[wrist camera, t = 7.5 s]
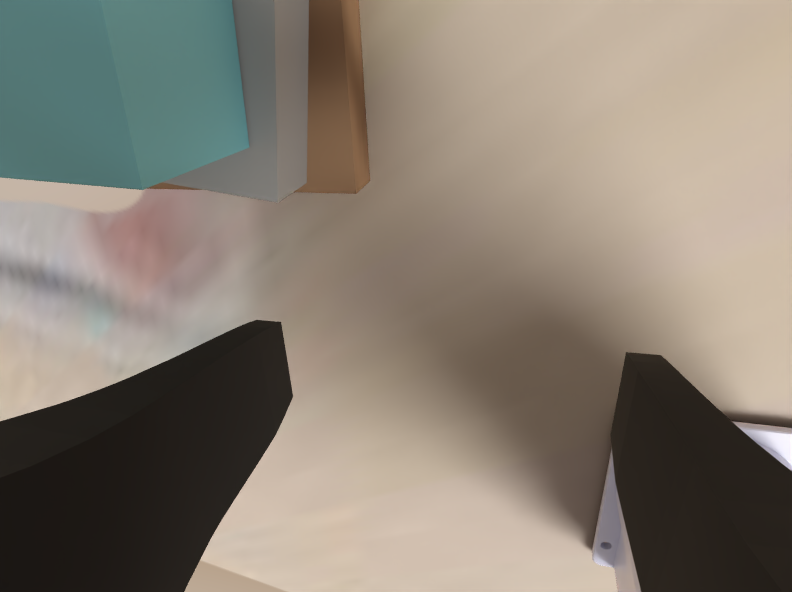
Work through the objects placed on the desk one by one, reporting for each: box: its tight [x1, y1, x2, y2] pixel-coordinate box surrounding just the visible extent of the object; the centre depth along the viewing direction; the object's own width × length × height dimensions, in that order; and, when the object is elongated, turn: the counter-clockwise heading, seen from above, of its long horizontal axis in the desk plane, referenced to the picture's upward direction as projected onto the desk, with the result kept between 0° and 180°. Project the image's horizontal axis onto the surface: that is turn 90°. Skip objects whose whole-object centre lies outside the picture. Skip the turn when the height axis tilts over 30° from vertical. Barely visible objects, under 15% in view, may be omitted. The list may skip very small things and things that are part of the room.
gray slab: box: [162, 0, 309, 203], centre depth 17 cm, size 7×7×2 cm
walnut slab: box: [148, 0, 370, 194], centre depth 19 cm, size 9×9×2 cm
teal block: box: [0, 0, 249, 190], centre depth 13 cm, size 4×4×5 cm
